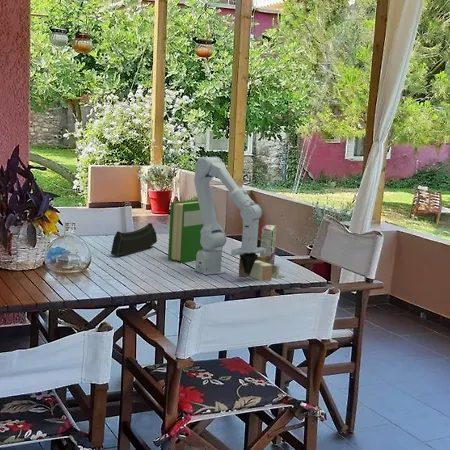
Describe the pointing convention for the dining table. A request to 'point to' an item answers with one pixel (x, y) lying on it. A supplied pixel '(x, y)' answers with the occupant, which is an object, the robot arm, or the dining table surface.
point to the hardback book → (185, 231)
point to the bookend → (276, 271)
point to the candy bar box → (269, 241)
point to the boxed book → (261, 271)
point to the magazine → (134, 241)
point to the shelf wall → (260, 258)
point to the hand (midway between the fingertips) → (247, 273)
